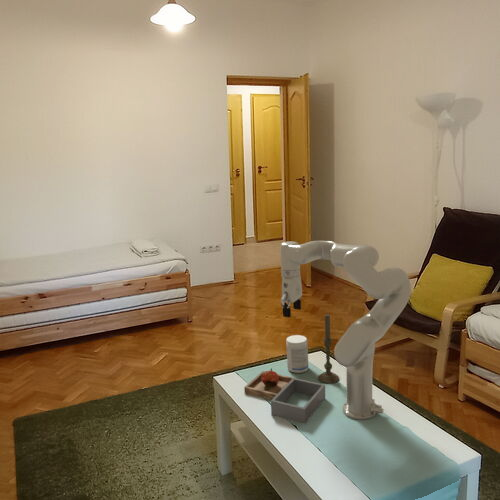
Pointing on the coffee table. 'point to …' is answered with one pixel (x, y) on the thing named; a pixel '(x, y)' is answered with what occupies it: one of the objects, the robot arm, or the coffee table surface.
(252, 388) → the tray
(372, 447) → the coffee table surface
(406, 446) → the coffee table surface
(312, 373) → the coffee table surface
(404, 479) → the coffee table surface
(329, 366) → the candlestick holder
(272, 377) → the pomegranate
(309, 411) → the grey open box
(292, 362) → the supplement tub
